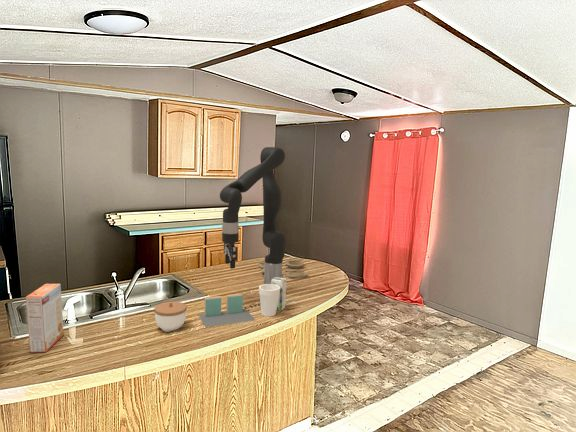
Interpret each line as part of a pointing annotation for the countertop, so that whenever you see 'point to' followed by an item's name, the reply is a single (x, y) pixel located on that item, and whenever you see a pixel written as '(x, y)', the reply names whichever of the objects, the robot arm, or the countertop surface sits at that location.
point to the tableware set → (292, 264)
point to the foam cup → (269, 299)
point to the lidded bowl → (170, 315)
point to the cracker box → (44, 317)
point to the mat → (226, 318)
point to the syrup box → (282, 295)
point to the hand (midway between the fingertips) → (230, 265)
